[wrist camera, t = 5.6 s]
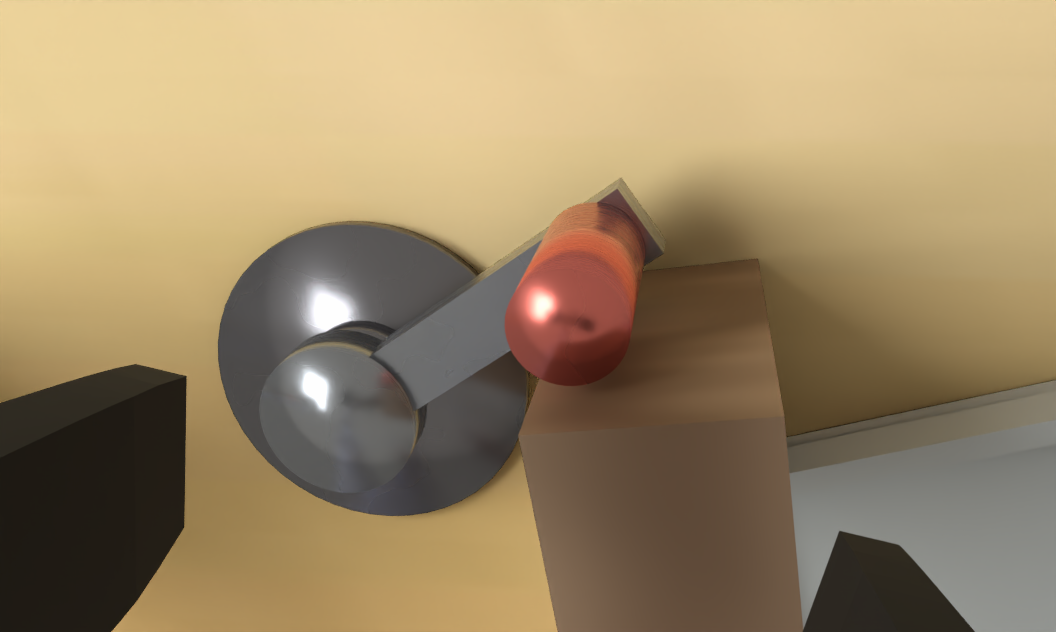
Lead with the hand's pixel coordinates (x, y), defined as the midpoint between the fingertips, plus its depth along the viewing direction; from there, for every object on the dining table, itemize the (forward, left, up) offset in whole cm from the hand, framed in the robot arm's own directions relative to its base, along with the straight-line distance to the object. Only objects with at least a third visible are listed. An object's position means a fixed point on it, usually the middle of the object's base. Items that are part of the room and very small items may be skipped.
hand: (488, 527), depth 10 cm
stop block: (-2, -1, -9) cm, 10 cm away
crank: (0, +3, -8) cm, 9 cm away
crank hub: (-1, +5, -9) cm, 11 cm away
